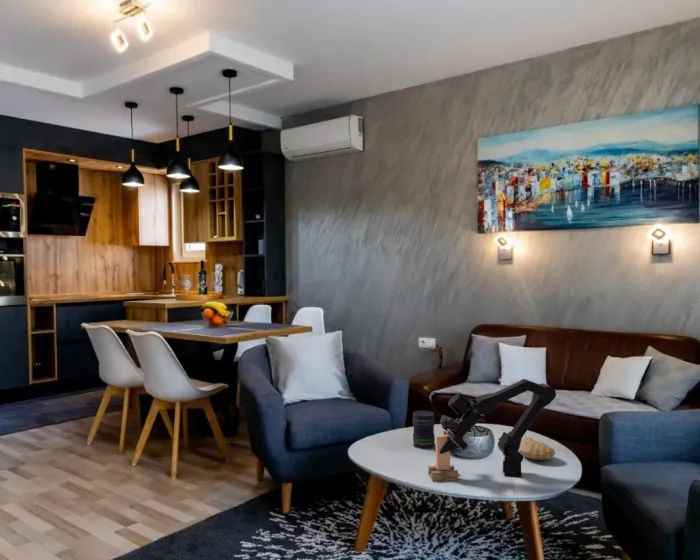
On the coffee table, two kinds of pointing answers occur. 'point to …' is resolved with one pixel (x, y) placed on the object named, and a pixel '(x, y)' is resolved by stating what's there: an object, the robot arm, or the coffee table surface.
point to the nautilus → (535, 449)
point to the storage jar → (423, 429)
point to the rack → (442, 474)
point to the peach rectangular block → (444, 458)
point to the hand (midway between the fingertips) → (439, 451)
